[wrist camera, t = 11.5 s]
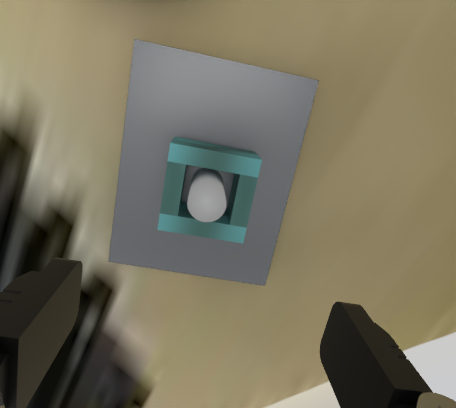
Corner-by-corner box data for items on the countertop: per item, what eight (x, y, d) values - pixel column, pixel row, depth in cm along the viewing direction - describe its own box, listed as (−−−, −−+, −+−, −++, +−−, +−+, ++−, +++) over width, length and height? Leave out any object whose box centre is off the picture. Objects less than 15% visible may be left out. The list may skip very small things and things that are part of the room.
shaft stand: (313, 81, 28) (358, 75, 20) (262, 277, 33) (281, 340, 25) (138, 42, 27) (105, 17, 18) (112, 254, 32) (77, 312, 23)
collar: (255, 151, 26) (261, 159, 23) (238, 225, 28) (243, 243, 25) (175, 136, 26) (170, 142, 22) (163, 213, 27) (157, 229, 24)
